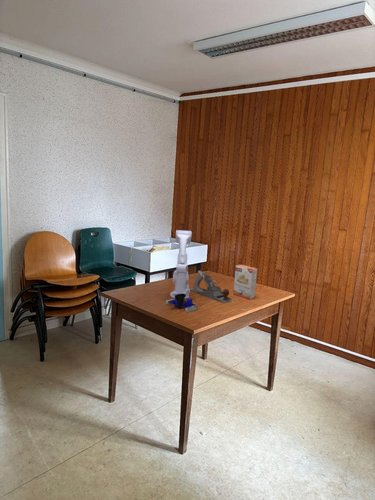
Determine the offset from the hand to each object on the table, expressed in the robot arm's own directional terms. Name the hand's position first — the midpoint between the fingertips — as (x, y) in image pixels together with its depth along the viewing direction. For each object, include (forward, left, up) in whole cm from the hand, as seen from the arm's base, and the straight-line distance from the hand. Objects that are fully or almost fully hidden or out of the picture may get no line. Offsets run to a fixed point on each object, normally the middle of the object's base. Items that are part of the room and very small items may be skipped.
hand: (179, 305), depth 219 cm
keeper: (-2, 0, -1) cm, 2 cm away
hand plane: (-35, -6, -2) cm, 35 cm away
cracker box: (-53, +9, -1) cm, 54 cm away
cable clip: (-3, -1, -1) cm, 3 cm away
